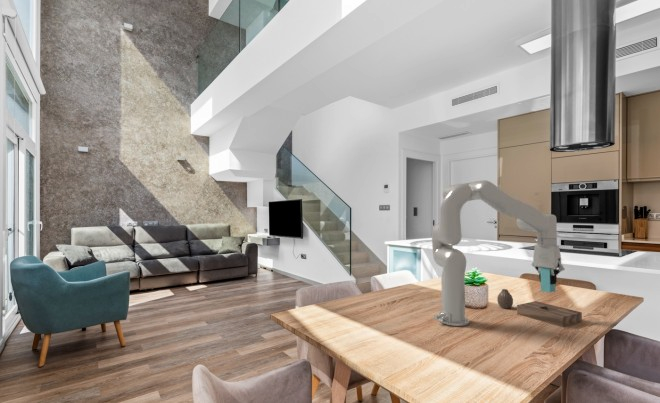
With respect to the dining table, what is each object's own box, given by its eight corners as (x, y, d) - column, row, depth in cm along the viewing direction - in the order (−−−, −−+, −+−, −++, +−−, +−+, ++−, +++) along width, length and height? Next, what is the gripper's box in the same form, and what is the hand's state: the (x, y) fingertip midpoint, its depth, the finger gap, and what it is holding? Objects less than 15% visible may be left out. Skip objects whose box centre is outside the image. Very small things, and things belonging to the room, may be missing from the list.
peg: (550, 292, 150) (549, 265, 150) (540, 290, 154) (540, 263, 154) (555, 291, 152) (554, 264, 152) (546, 289, 155) (545, 263, 156)
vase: (511, 310, 163) (511, 292, 164) (496, 308, 168) (495, 290, 168) (514, 307, 169) (514, 289, 169) (499, 304, 173) (498, 287, 173)
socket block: (562, 327, 141) (562, 317, 141) (517, 313, 158) (517, 305, 158) (581, 321, 147) (581, 312, 147) (536, 309, 165) (535, 301, 165)
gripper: (523, 240, 159) (524, 280, 159) (561, 244, 144) (562, 287, 144) (533, 240, 162) (534, 278, 162) (571, 243, 147) (573, 285, 147)
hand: (547, 282), depth 153 cm, fingers closed on peg, 4 cm apart
